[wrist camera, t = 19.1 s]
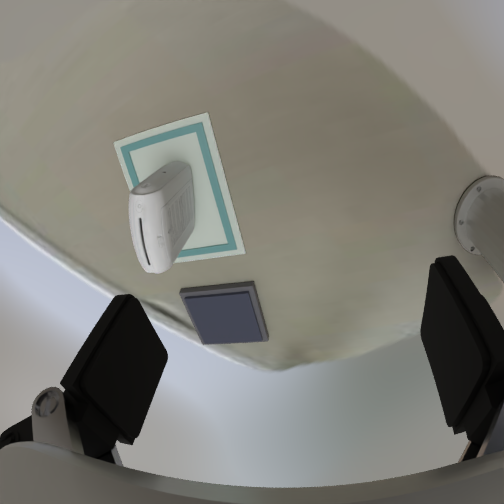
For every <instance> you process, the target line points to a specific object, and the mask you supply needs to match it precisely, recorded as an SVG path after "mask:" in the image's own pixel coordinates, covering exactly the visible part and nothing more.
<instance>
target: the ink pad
mask: <svg viewBox="0 0 504 504" xmlns="http://www.w3.org/2000/svg"><path fill="white" fill-rule="evenodd" d="M179 294H180V296H181V298H182V301H183V303H184V305H185V307H186V310H187V312H188V314H189V316H190V318H191V321H192V323H193V325H194V327H195V329H196V331H197V333H198V336H199V338H200V340H201V342H202V344H203V345H204V344H230V343H248V342H264V341H268V339H269V335H268V331H267V328H266V324H265V321H264V317H263V313H262V310H261V306H260V302H259V299H258V295H257V291H256V288H255V284H254V281H250V282H241V283H232V284H223V285H213V286H203V287H193V288H183V289H181V290H180V293H179Z"/></svg>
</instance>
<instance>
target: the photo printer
mask: <svg viewBox="0 0 504 504" xmlns="http://www.w3.org/2000/svg"><path fill="white" fill-rule="evenodd" d="M129 221H130V229H131V235H132V240H133V244H134V248H135V251H136V254H137V257H138V260H139V262H140V264H141V265H142V267H143V269H144V270H145V271H146V272H148V273H150V272H153V273H156V274H158V273H162V272H164V271H166V270H168V269H169V268H170V267H171V266H172V265H173V263H174V262H175V260H176V258H177V257H178V255H179V253H180V252H181V250H182V248H183V247H184V245H185V243H186V242H187V240H188V239H189V237H190V235H191V234H192V232H193V230H194V225H195V212H194V197H193V183H192V174H191V169H190V166H189V165H187V164H185V163H184V162H181V161H173V162H171V163H169V164H168V165H164V166H162V167H161V168H160V169H158V170H157V171H155V172H154V173H153V174H151V175H150V176H148V177H147V178H146V179H144V180H143V181H142V182H140V183H139V184H138V185H137V186H135V187H134V188H133V189H132V190H131V191H130V196H129Z"/></svg>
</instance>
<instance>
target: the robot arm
mask: <svg viewBox="0 0 504 504" xmlns="http://www.w3.org/2000/svg"><path fill="white" fill-rule="evenodd" d="M454 227H455V233H456V237H457V239H458V241H459V242H460V244H461V245H462V247H463V248H464V249H465V250H466V251H468V252H469V253H472V254H475V255H483V256H484V258H485V259H486V260H487V261H488V263H489V264H490V265H491V267H492V268H493V269H494V271H495V272H496V273H497V274H498V276H499V277H500V279H501V280H502V281H503V283H504V179H503V178H501V177H497V176H486V177H483V178H481V179H479V180H477V181H475V182H474V183H473V184H472V185H471V186H470V187H469V188H468V189H467V190H466V191H465V193H464V194H463V196H462V197H461V199H460V201H459V204H458V206H457V209H456V213H455V220H454ZM421 339H422V342H423V345H424V347H425V351H426V354H427V357H428V360H429V363H430V366H431V369H432V372H433V375H434V379H435V382H436V386H437V389H438V392H439V396H440V400H441V404H442V407H443V411H444V415H445V419H446V423H447V425H448V427H453V431H454V434H458V433H462V432H464V431H466V433H467V438H468V440H469V442H468V444H467V446H466V448H465V450H464V452H463V454H462V456H461V458H460V459H459V461H458V463H455V464H452V465H448V466H445V467H441V468H438V469H433V470H429V471H425V472H420V473H416V474H411V475H406V476H401V477H395V478H390V479H384V480H378V481H372V482H365V483H357V484H348V485H337V486H324V487H303V488H266V487H244V486H231V485H220V484H211V483H203V482H196V481H189V480H183V479H177V478H171V477H166V476H161V475H156V474H151V473H147V472H143V471H138V470H134V469H130V468H126V467H123V464H122V461H121V459H120V456H119V453H118V451H117V448H116V445H115V443H116V441H117V440H118V441H119V442H120V443H124V444H130V445H133V442H134V440H135V438H137V437H138V436H139V434H140V431H141V429H142V426H143V423H144V420H145V418H146V415H147V412H148V410H149V407H150V404H151V402H152V399H153V396H154V394H155V391H156V388H157V386H158V383H159V381H160V378H161V376H162V373H163V370H164V368H165V365H166V363H167V360H168V354H167V351H166V349H165V347H164V345H163V344H162V342H161V340H160V338H159V337H158V335H157V333H156V331H155V330H154V328H153V326H152V324H151V322H150V320H149V319H148V317H147V315H146V313H145V311H144V309H143V307H142V306H141V304H140V302H139V300H138V299H137V298H135V297H134V296H133V295H131V294H125V295H117V296H115V297H114V298H113V300H112V301H111V303H110V304H109V306H108V307H107V309H106V310H105V312H104V313H103V315H102V316H101V318H100V319H99V321H98V322H97V324H96V325H95V327H94V328H93V330H92V332H91V333H90V334H89V336H88V338H87V339H86V341H85V342H84V344H83V346H82V347H81V349H80V350H79V352H78V354H77V355H76V357H75V359H74V360H73V362H72V363H71V365H70V367H69V369H68V370H67V372H66V374H65V375H64V377H63V379H62V380H61V382H60V384H61V385H62V386H63V387H64V388H65V391H64V393H63V392H62V391H61V390H60V389H59V388H57V387H50V388H47V389H45V390H43V391H42V392H41V393H40V394H39V395H38V396H37V397H36V399H35V400H34V402H33V405H32V415H31V416H29V417H28V418H26V419H24V420H22V421H21V422H19V423H17V424H15V425H13V426H11V427H10V428H8V429H7V430H5V431H4V432H3V433H2V434H1V436H0V504H504V330H503V328H502V326H501V324H500V322H499V321H498V319H497V317H496V316H495V314H494V312H493V310H492V309H491V307H490V305H489V304H488V302H487V301H486V299H485V298H484V297H483V295H481V294H480V293H479V291H478V289H477V288H476V286H475V285H474V283H473V282H472V280H471V279H470V277H469V276H468V274H467V273H466V271H465V270H464V268H463V267H462V265H461V264H460V263H459V261H458V260H457V258H456V257H455V256H453V255H451V256H445V257H439V258H436V260H435V263H433V264H431V265H430V270H429V278H428V286H427V293H426V300H425V306H424V312H423V318H422V324H421Z"/></svg>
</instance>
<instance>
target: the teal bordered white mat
mask: <svg viewBox="0 0 504 504" xmlns="http://www.w3.org/2000/svg"><path fill="white" fill-rule="evenodd" d="M113 143H114V146H115V149H116V152H117V155H118V158H119V161H120V164H121V167H122V170H123V173H124V176H125V179H126V181H127V184H128V187H129V190H130V191H131V190H132V189H133V188H134V187H135V186H137V185H138V184H139V183H140V182H142V181H143V180H144V179H146V178H147V177H148V176H150V175H151V174H153V173H154V172H155V171H157V170H158V169H160V168H161V167H162V166H164V165H168V164H169V163H171V162H173V161H181V162H184V163H185V164H187V165H189V166H190V169H191V174H192V183H193V197H194V212H195V225H194V230H193V232H192V234H191V235H190V237H189V239H188V240H187V242H186V243H185V245H184V247H183V248H182V250H181V252H180V253H179V255H178V257H177V258H176V260H175V262H174V263H178V262H186V261H194V260H201V259H209V258H216V257H224V256H231V255H239V254H246V251H245V247H244V244H243V240H242V236H241V233H240V229H239V225H238V222H237V218H236V214H235V211H234V207H233V203H232V199H231V196H230V192H229V188H228V185H227V181H226V177H225V173H224V170H223V166H222V162H221V158H220V155H219V151H218V147H217V143H216V140H215V136H214V132H213V128H212V125H211V121H210V117H209V113H208V112H207V113H203V114H199V115H196V116H192V117H189V118H185V119H182V120H178V121H175V122H172V123H168V124H165V125H162V126H159V127H156V128H153V129H150V130H147V131H144V132H141V133H138V134H135V135H132V136H129V137H127V138H124V139H121V140H118V141H116V142H113Z"/></svg>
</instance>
